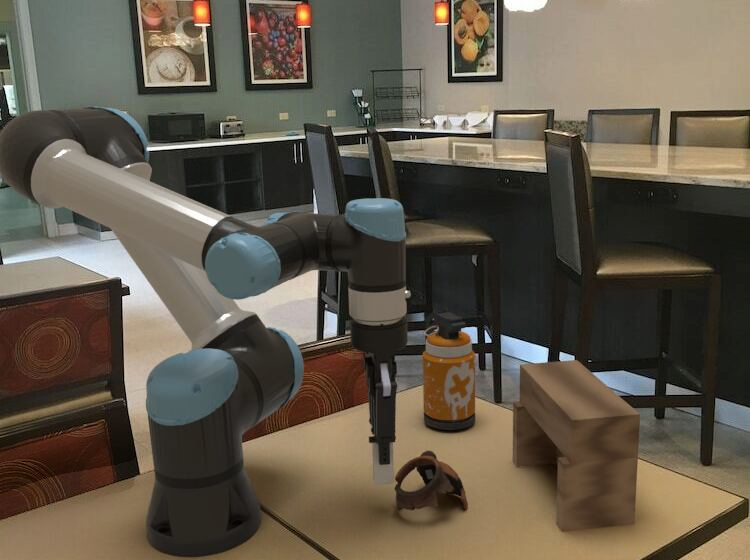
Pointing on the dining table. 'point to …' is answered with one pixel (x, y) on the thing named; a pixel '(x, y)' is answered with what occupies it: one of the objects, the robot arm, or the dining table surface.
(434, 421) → the canister
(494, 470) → the dining table surface
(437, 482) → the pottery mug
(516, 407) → the hutch
